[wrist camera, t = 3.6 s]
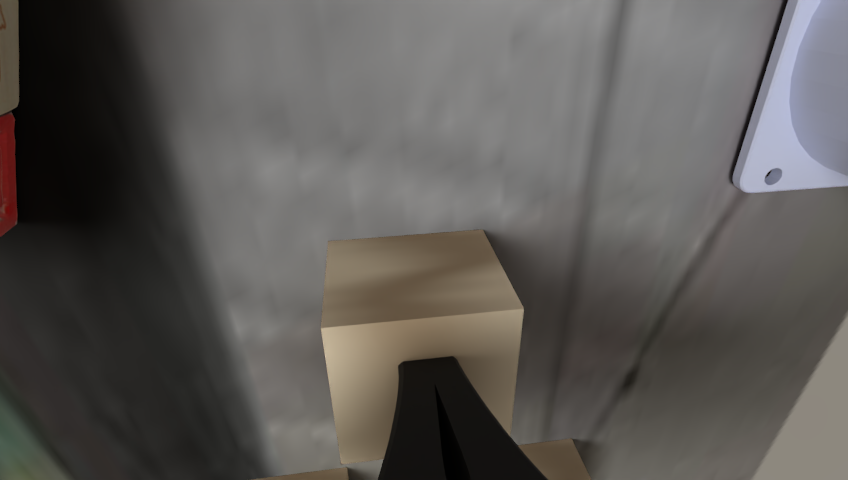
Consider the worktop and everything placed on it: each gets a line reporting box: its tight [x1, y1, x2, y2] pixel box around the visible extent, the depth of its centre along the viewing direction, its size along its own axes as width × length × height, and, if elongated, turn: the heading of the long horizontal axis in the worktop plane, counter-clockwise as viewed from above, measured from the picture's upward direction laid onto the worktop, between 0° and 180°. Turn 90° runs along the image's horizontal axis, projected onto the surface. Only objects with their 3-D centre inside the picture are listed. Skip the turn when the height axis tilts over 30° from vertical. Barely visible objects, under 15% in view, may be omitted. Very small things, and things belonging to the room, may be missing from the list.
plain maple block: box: [321, 230, 524, 464], centre depth 13 cm, size 4×4×4 cm
